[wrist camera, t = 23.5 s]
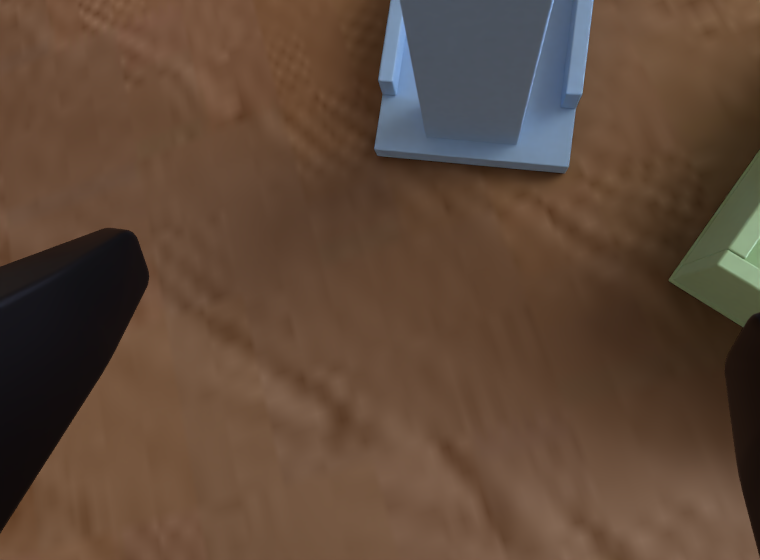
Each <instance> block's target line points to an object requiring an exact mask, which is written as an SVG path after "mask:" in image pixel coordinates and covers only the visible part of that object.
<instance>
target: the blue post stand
mask: <svg viewBox="0 0 760 560" xmlns="http://www.w3.org/2000/svg"><path fill="white" fill-rule="evenodd" d="M593 1H594V0H391V1H390V7H389V14H388V20H387V26H386V33H385V39H384V45H383V52H382V58H381V65H380V71H379V77H378V82H379V85H380V88H381V91H382V94H383V95H382V102H381V108H380V114H379V121H378V127H377V134H376V140H375V146H374V150H375V152H376V154H377V156H384V157H395V158H406V159H416V160H427V161H438V162H448V163H459V164H470V165H481V166H491V167H502V168H513V169H523V170H534V171H545V172H555V173H565V172H566V171H567V169H568V167H569V162H570V153H571V145H572V137H573V128H574V120H575V112H576V107H577V105H578V103H579V100H580V98H581V96H582V93H583V85H584V77H585V68H586V60H587V51H588V43H589V35H590V26H591V18H592V9H593Z"/></svg>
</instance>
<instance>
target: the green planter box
mask: <svg viewBox="0 0 760 560" xmlns="http://www.w3.org/2000/svg"><path fill="white" fill-rule="evenodd" d="M669 282H671V283H673V284H674V285H676V286H678V287H679V288H681V289H682V290H684V291H686V292H687V293H689V294H690V295H692V296H694V297H695V298H697V299H698V300H700V301H702V302H703V303H705V304H706V305H708V306H710V307H711V308H713V309H714V310H716V311H718V312H719V313H721V314H723V315H724V316H726V317H727V318H729V319H731V320H732V321H734V322H735V323H737V324H739V325H740V326H742V327H744V325H745V324H746V322H747V320H748V319H749V318H750V317H751V316H752V315H753V314H755V313H759V312H760V150H759V151H758V153H757V154H756V155H755V157H754V158H753V160H752V161H751V163H750V164H749V165H748V167H747V168H746V170H745V171H744V173H743V174H742V175H741V177H740V178H739V180H738V181H737V183H736V184H735V185H734V187H733V188H732V190H731V191H730V193H729V194H728V195H727V197H726V198H725V200H724V201H723V203H722V204H721V205H720V207H719V208H718V210H717V211H716V212H715V214H714V215H713V217H712V218H711V220H710V221H709V222H708V224H707V225H706V227H705V228H704V230H703V231H702V232H701V234H700V235H699V237H698V238H697V240H696V241H695V242H694V244H693V245H692V247H691V248H690V250H689V251H688V252H687V254H686V255H685V257H684V258H683V260H682V261H681V262H680V264H679V265H678V267H677V268H676V270H675V271H674V272H673V274H672V275H671V277H670V278H669Z"/></svg>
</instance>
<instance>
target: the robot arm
mask: <svg viewBox="0 0 760 560" xmlns="http://www.w3.org/2000/svg"><path fill="white" fill-rule="evenodd" d="M148 281H149V272H148V268H147V265H146V262H145V259H144V256H143V253H142V251H141V248H140V245H139V242H138V239H137V237H136V236H135V234H134V233H133V232H131V231H129V230H123V229H115V228H104V229H101V230H98V231H96V232H93V233H90V234H88V235H85V236H82V237H80V238H77V239H74V240H71V241H69V242H66V243H63V244H61V245H58V246H55V247H52V248H50V249H47V250H44V251H42V252H39V253H36V254H34V255H31V256H28V257H25V258H23V259H20V260H17V261H15V262H12V263H9V264H7V265H4V266H1V267H0V533H1V531H2V530H3V528H4V527H5V525H6V524H7V522H8V520H9V519H10V517H11V516H12V514H13V513H14V511H15V509H16V508H17V506H18V505H19V503H20V502H21V500H22V498H23V497H24V495H25V494H26V492H27V491H28V489H29V488H30V486H31V484H32V483H33V481H34V480H35V478H36V477H37V475H38V473H39V472H40V470H41V469H42V467H43V466H44V464H45V462H46V461H47V459H48V458H49V456H50V455H51V453H52V451H53V450H54V448H55V447H56V445H57V444H58V442H59V441H60V439H61V437H62V436H63V434H64V433H65V431H66V430H67V428H68V426H69V425H70V423H71V422H72V420H73V419H74V417H75V415H76V414H77V412H78V411H79V409H80V408H81V406H82V404H83V403H84V401H85V400H86V398H87V397H88V395H89V394H90V392H91V390H92V389H93V387H94V386H95V384H96V383H97V381H98V379H99V378H100V376H101V375H102V373H103V371H104V370H105V368H106V366H107V365H108V363H109V361H110V359H111V357H112V355H113V354H114V352H115V350H116V348H117V346H118V344H119V342H120V340H121V338H122V336H123V334H124V332H125V330H126V328H127V326H128V324H129V322H130V320H131V318H132V316H133V314H134V312H135V310H136V308H137V306H138V304H139V302H140V300H141V298H142V296H143V294H144V292H145V290H146V288H147V285H148ZM725 378H726V386H727V393H728V401H729V409H730V416H731V424H732V431H733V439H734V447H735V454H736V461H737V467H738V473H739V478H740V482H741V487H742V491H743V495H744V499H745V503H746V507H747V510H748V514H749V518H750V522H751V526H752V530H753V533H754V537H755V541H756V545H757V549H758V553H759V556H760V312H759V313H755V314H753V315H752V316H751V317H750V318H749V319H748V320H747V322H746V324H745V325H744V327H743V329H742V331H741V332H740V334H739V336H738V338H737V339H736V341H735V343H734V345H733V346H732V348H731V350H730V352H729V353H728V356H727V358H726V362H725Z"/></svg>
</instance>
